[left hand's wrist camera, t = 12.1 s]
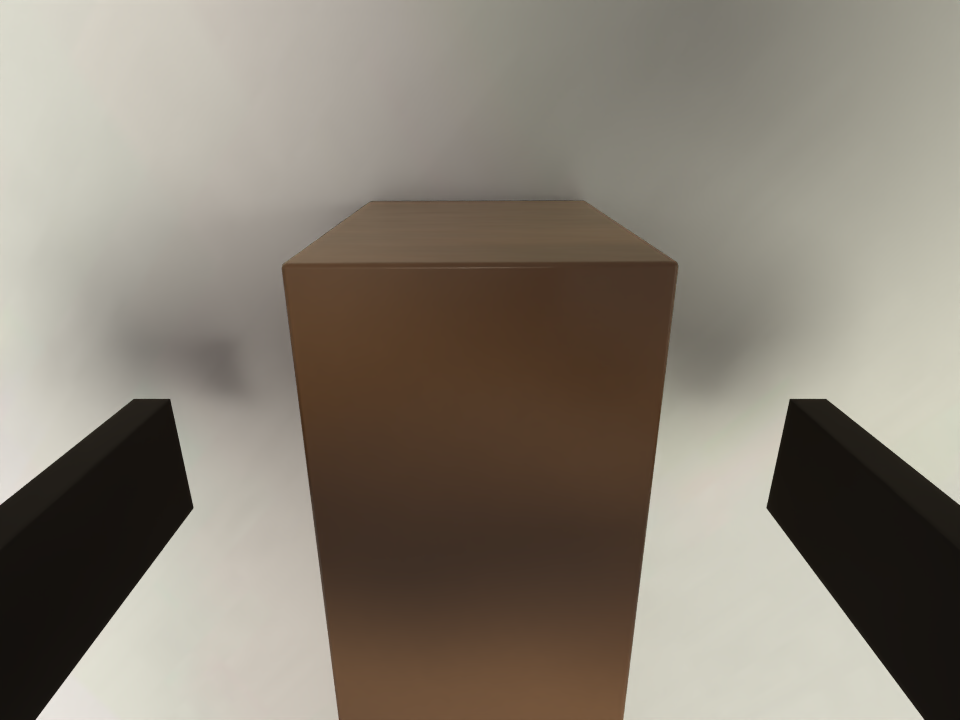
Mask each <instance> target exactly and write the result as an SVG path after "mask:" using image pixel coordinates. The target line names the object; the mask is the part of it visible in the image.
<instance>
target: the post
mask: <svg viewBox="0 0 960 720" xmlns="http://www.w3.org/2000/svg"><path fill="white" fill-rule="evenodd" d="M282 274H283V282H284V290H285V298H286V306H287V314H288V322H289V330H290V337H291V345H292V353H293V361H294V369H295V377H296V385H297V393H298V401H299V408H300V416H301V424H302V432H303V440H304V448H305V456H306V464H307V472H308V479H309V487H310V495H311V503H312V511H313V519H314V527H315V535H316V543H317V550H318V558H319V566H320V574H321V582H322V590H323V598H324V606H325V614H326V621H327V629H328V637H329V645H330V653H331V661H332V669H333V677H334V685H335V692H336V700H337V708H338V716H339V720H623V717H624V709H625V701H626V692H627V684H628V676H629V668H630V659H631V651H632V643H633V635H634V627H635V618H636V610H637V602H638V594H639V586H640V577H641V569H642V561H643V553H644V545H645V536H646V528H647V520H648V512H649V503H650V495H651V487H652V479H653V471H654V462H655V454H656V446H657V438H658V430H659V421H660V413H661V405H662V397H663V388H664V380H665V372H666V364H667V356H668V347H669V339H670V331H671V323H672V315H673V306H674V298H675V290H676V282H677V274H678V263H677V262H676V261H674V260H673V259H671V258H670V257H668V256H667V255H665V254H664V253H662V252H661V251H659V250H658V249H656V248H655V247H653V246H652V245H650V244H649V243H647V242H646V241H644V240H643V239H641V238H640V237H638V236H637V235H635V234H634V233H632V232H631V231H629V230H628V229H626V228H625V227H623V226H622V225H620V224H619V223H617V222H616V221H614V220H613V219H611V218H610V217H608V216H607V215H605V214H604V213H602V212H601V211H599V210H597V209H596V208H594V207H593V206H591V205H590V204H588V203H587V202H585V201H371V202H369V203H368V204H366V205H365V206H363V207H362V208H361V209H359V210H358V211H356V212H355V213H354V214H352V215H351V216H349V217H348V218H347V219H345V220H344V221H342V222H341V223H340V224H338V225H337V226H336V227H334V228H333V229H331V230H330V231H329V232H327V233H326V234H324V235H323V236H322V237H320V238H319V239H317V240H316V241H315V242H313V243H312V244H310V245H309V246H308V247H306V248H305V249H303V250H302V251H301V252H299V253H298V254H297V255H295V256H294V257H292V258H291V259H290V260H288V261H287V262H285V263H284V264H283V266H282Z"/></svg>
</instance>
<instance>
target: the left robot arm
mask: <svg viewBox="0 0 960 720" xmlns="http://www.w3.org/2000/svg"><path fill="white" fill-rule="evenodd" d="M192 509H193V503H192V499H191V494H190V489H189V485H188V480H187V475H186V471H185V466H184V461H183V457H182V452H181V447H180V443H179V438H178V433H177V429H176V424H175V419H174V415H173V410H172V406H171V401H170V399H133V400H132V401H131V402H130V403H128V404H127V405H126V406H124V407H123V408H122V409H121V410H119V411H118V412H117V413H116V414H114V415H113V416H112V417H111V418H109V419H108V420H107V421H106V422H104V423H103V424H102V425H101V426H99V427H98V428H97V429H96V430H94V431H93V432H92V433H90V434H89V435H88V436H87V437H85V438H84V439H83V440H82V441H80V442H79V443H78V444H77V445H75V446H74V447H73V448H72V449H70V450H69V451H68V452H67V453H65V454H64V455H63V456H62V457H60V458H59V459H58V460H57V461H55V462H54V463H53V464H51V465H50V466H49V467H48V468H46V469H45V470H44V471H43V472H41V473H40V474H39V475H38V476H36V477H35V478H34V479H33V480H31V481H30V482H29V483H28V484H26V485H25V486H24V487H23V488H21V489H20V490H19V491H17V492H16V493H15V494H14V495H12V496H11V497H10V498H9V499H7V500H6V501H5V502H4V503H2V504H1V505H0V720H36V718H37V717H38V716H39V714H40V713H41V712H42V710H43V709H44V708H45V706H46V705H47V704H48V702H49V701H50V700H51V698H52V697H53V696H54V694H55V693H56V692H57V690H58V689H59V688H60V686H61V685H62V684H63V682H64V681H65V680H66V678H67V677H68V676H69V674H70V673H71V671H72V670H73V669H74V667H75V666H76V665H77V663H78V662H79V661H80V659H81V658H82V657H83V655H84V654H85V653H86V651H87V650H88V649H89V647H90V646H91V645H92V643H93V642H94V641H95V639H96V638H97V637H98V635H99V634H100V633H101V631H102V630H103V629H104V627H105V626H106V625H107V623H108V622H109V621H110V619H111V618H112V617H113V615H114V614H115V613H116V611H117V610H118V609H119V607H120V606H121V604H122V603H123V602H124V600H125V599H126V598H127V596H128V595H129V594H130V592H131V591H132V590H133V588H134V587H135V586H136V584H137V583H138V582H139V580H140V579H141V578H142V576H143V575H144V574H145V572H146V571H147V570H148V568H149V567H150V566H151V564H152V563H153V562H154V560H155V559H156V558H157V556H158V555H159V554H160V552H161V551H162V550H163V548H164V547H165V546H166V544H167V543H168V542H169V540H170V539H171V537H172V536H173V535H174V533H175V532H176V531H177V529H178V528H179V527H180V525H181V524H182V523H183V521H184V520H185V519H186V517H187V516H188V515H189V513H190V512H191V511H192ZM767 509H768V511H769V512H770V513H771V515H772V516H773V517H774V519H775V520H776V521H777V523H778V524H779V525H780V527H781V528H782V529H783V531H784V532H785V533H786V535H787V536H788V537H789V539H790V540H791V542H792V543H793V544H794V546H795V547H796V548H797V550H798V551H799V552H800V554H801V555H802V556H803V558H804V559H805V560H806V562H807V563H808V564H809V566H810V567H811V568H812V570H813V571H814V572H815V574H816V575H817V576H818V578H819V579H820V580H821V582H822V583H823V584H824V586H825V587H826V588H827V590H828V591H829V592H830V594H831V595H832V596H833V598H834V599H835V600H836V602H837V603H838V604H839V606H840V607H841V609H842V610H843V611H844V613H845V614H846V615H847V617H848V618H849V619H850V621H851V622H852V623H853V625H854V626H855V627H856V629H857V630H858V631H859V633H860V634H861V635H862V637H863V638H864V639H865V641H866V642H867V643H868V645H869V646H870V647H871V649H872V650H873V651H874V653H875V654H876V655H877V657H878V658H879V659H880V661H881V662H882V663H883V665H884V666H885V667H886V669H887V670H888V671H889V673H890V674H891V676H892V677H893V678H894V680H895V681H896V682H897V684H898V685H899V686H900V688H901V689H902V690H903V692H904V693H905V694H906V696H907V697H908V698H909V700H910V701H911V702H912V704H913V705H914V706H915V708H916V709H917V710H918V712H919V713H920V714H921V716H922V717H923V718H924V720H960V505H959V504H958V503H956V502H955V501H954V500H953V499H951V498H950V497H949V496H948V495H946V494H945V493H944V492H943V491H941V490H940V489H939V488H937V487H936V486H935V485H934V484H932V483H931V482H930V481H929V480H927V479H926V478H925V477H924V476H922V475H921V474H920V473H919V472H917V471H916V470H915V469H914V468H912V467H911V466H910V465H909V464H907V463H906V462H905V461H903V460H902V459H901V458H900V457H898V456H897V455H896V454H895V453H893V452H892V451H891V450H890V449H888V448H887V447H886V446H885V445H883V444H882V443H881V442H880V441H878V440H877V439H876V438H875V437H873V436H872V435H871V434H870V433H868V432H867V431H866V430H864V429H863V428H862V427H861V426H859V425H858V424H857V423H856V422H854V421H853V420H852V419H851V418H849V417H848V416H847V415H846V414H844V413H843V412H842V411H841V410H839V409H838V408H837V407H836V406H834V405H833V404H832V403H830V402H829V401H828V400H827V399H790V401H789V406H788V410H787V415H786V419H785V424H784V429H783V433H782V438H781V443H780V447H779V452H778V457H777V461H776V466H775V471H774V475H773V480H772V485H771V489H770V494H769V499H768V503H767Z"/></svg>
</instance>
